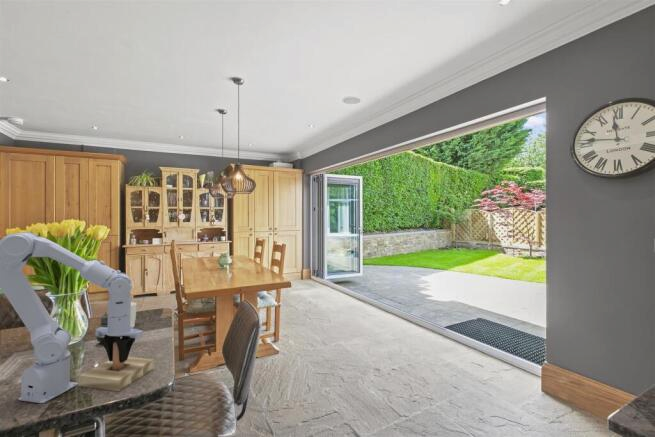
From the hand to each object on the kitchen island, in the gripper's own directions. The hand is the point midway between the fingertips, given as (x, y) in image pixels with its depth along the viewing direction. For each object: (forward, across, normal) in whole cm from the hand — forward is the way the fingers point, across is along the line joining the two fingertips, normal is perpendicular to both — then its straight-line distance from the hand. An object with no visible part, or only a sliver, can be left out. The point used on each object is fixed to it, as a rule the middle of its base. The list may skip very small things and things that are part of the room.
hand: (118, 360), depth 93 cm
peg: (+4, 0, 0) cm, 4 cm away
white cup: (+5, +32, -37) cm, 49 cm away
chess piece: (+5, +25, -20) cm, 32 cm away
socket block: (+5, 0, 0) cm, 5 cm away
